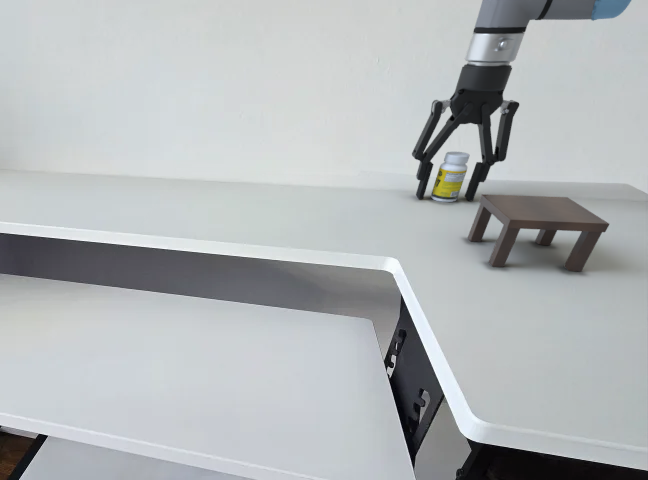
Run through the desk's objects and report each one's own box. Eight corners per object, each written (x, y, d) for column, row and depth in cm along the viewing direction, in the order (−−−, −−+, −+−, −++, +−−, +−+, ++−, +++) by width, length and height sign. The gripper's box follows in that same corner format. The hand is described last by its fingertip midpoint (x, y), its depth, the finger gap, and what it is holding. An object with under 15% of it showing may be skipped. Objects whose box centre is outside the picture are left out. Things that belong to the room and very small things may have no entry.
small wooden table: (546, 241, 79) (567, 197, 75) (583, 272, 70) (609, 223, 66) (465, 237, 81) (481, 194, 77) (490, 267, 72) (510, 219, 68)
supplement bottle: (430, 194, 100) (443, 150, 95) (456, 196, 99) (471, 151, 94) (430, 201, 97) (444, 155, 92) (457, 203, 95) (473, 157, 90)
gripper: (427, 65, 83) (390, 201, 97) (567, 64, 80) (509, 206, 93) (417, 62, 89) (383, 190, 103) (547, 61, 85) (495, 194, 99)
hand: (443, 197), depth 98 cm, fingers open, 8 cm apart
